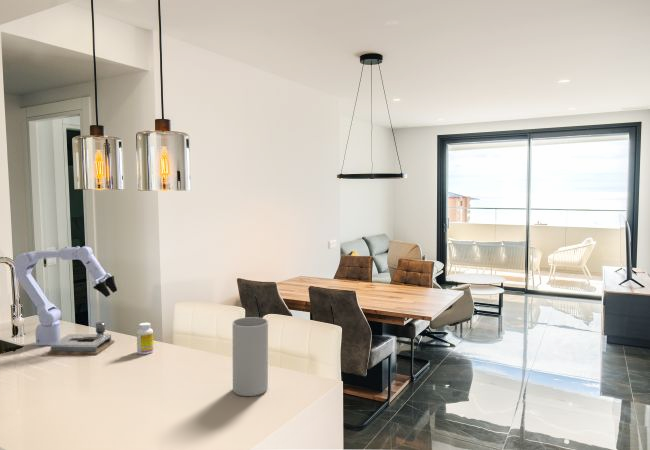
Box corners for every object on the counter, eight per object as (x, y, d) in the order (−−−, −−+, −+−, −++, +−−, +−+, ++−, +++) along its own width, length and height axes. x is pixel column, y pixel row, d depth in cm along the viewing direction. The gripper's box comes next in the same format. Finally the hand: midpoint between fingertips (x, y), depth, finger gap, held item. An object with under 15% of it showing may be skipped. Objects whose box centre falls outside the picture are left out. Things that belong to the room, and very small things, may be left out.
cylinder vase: (273, 385, 173) (273, 318, 171) (259, 399, 161) (259, 328, 159) (242, 381, 176) (242, 316, 174) (226, 394, 164) (226, 325, 162)
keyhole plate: (51, 351, 203) (50, 344, 203) (69, 340, 218) (69, 334, 218) (96, 351, 203) (95, 344, 203) (111, 340, 218) (111, 334, 218)
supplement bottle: (156, 351, 207) (156, 323, 207) (143, 356, 202) (143, 326, 201) (146, 348, 211) (146, 321, 210) (134, 353, 205) (133, 324, 204)
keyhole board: (47, 354, 202) (47, 352, 202) (68, 342, 219) (68, 340, 219) (97, 354, 203) (97, 352, 203) (114, 342, 220) (114, 340, 219)
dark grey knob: (91, 341, 221) (91, 324, 221) (97, 337, 227) (97, 321, 226) (103, 341, 221) (103, 324, 221) (109, 337, 227) (108, 321, 226)
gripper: (95, 268, 210) (112, 293, 212) (109, 262, 225) (125, 285, 226) (82, 276, 211) (99, 301, 212) (97, 269, 225) (113, 292, 227)
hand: (111, 293), depth 219 cm, fingers open, 7 cm apart
